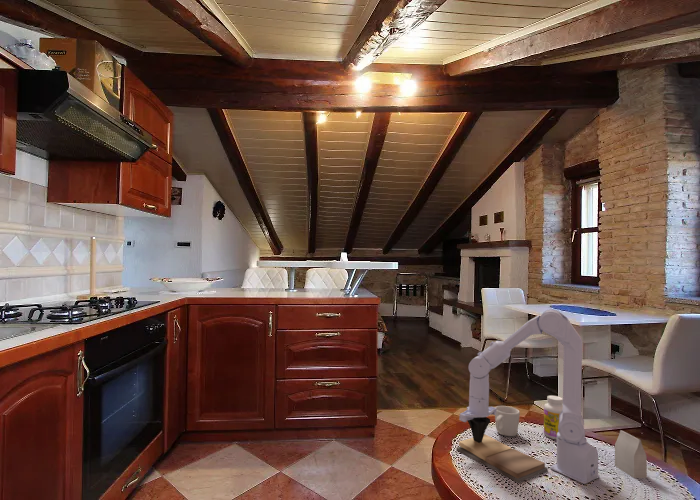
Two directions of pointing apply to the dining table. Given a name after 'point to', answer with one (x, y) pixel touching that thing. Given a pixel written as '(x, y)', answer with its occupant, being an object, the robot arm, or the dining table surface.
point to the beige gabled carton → (630, 455)
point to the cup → (507, 420)
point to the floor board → (511, 464)
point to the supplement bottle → (552, 416)
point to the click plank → (484, 447)
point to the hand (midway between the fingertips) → (477, 441)
